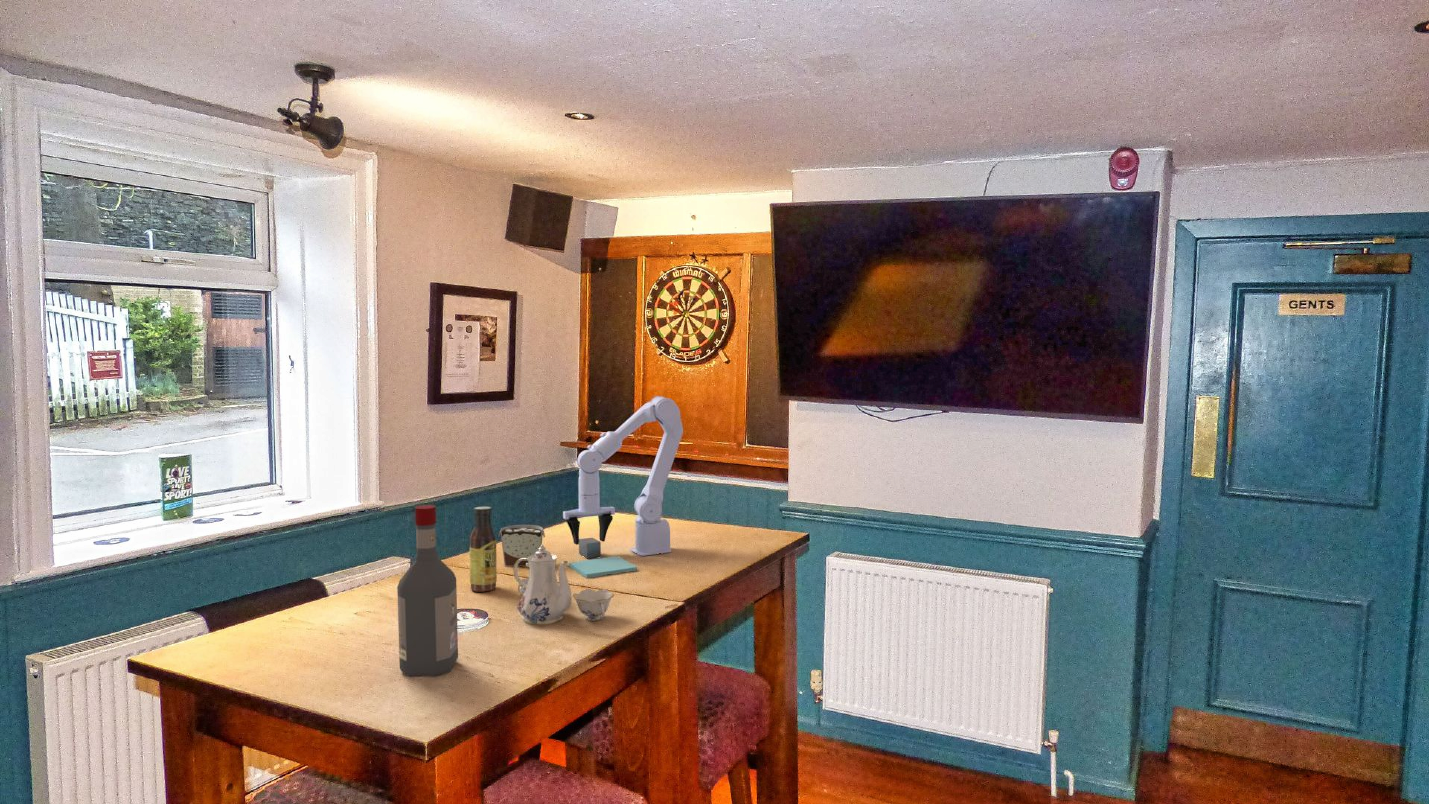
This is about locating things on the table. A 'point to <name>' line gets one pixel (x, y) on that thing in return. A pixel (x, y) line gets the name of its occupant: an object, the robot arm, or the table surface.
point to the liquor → (427, 606)
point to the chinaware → (554, 592)
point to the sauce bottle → (483, 552)
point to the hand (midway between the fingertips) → (589, 542)
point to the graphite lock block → (589, 548)
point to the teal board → (602, 566)
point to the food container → (520, 542)
